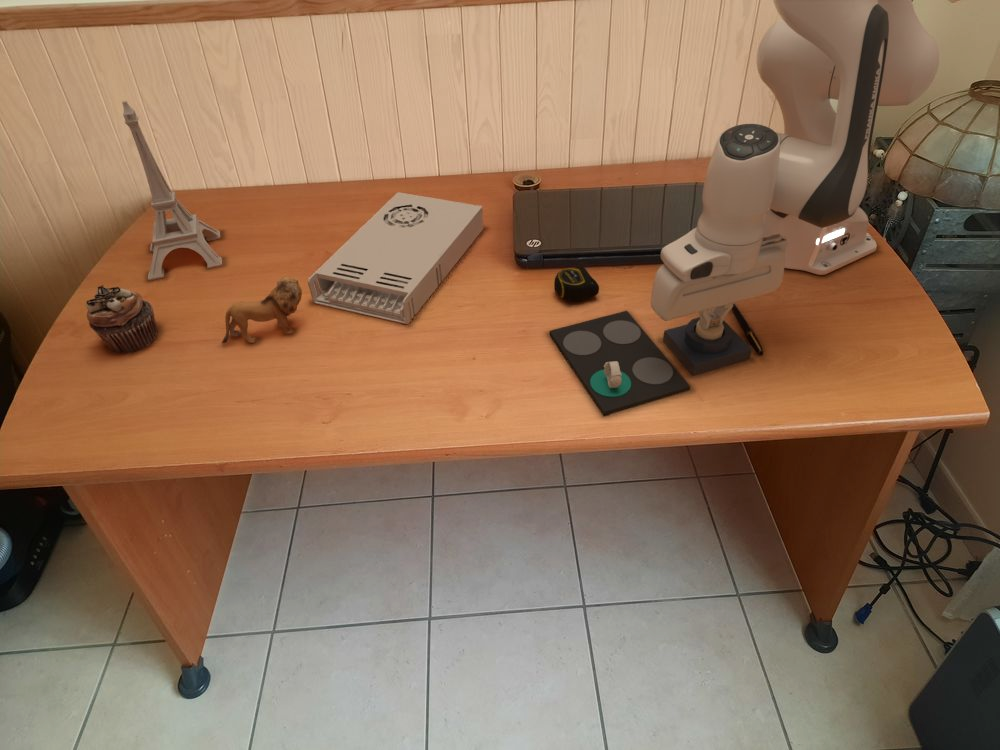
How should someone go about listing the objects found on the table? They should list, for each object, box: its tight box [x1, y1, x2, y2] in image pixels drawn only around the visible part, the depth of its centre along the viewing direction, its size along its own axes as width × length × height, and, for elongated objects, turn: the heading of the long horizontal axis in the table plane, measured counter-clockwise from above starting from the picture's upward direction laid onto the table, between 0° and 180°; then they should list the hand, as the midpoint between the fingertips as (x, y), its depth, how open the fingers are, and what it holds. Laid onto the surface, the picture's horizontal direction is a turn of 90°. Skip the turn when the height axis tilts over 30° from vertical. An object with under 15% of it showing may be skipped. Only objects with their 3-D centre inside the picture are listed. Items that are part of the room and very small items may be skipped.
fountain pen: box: [731, 303, 764, 356], centre depth 112 cm, size 14×1×2 cm, turn 6°
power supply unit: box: [307, 191, 485, 325], centre depth 129 cm, size 19×33×5 cm, turn 158°
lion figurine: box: [221, 276, 303, 344], centre depth 114 cm, size 15×5×9 cm, turn 117°
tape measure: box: [553, 264, 600, 302], centre depth 120 cm, size 7×7×4 cm
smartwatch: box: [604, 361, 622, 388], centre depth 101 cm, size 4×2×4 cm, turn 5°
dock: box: [662, 316, 753, 377], centre depth 108 cm, size 10×9×4 cm
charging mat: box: [549, 310, 691, 416], centre depth 108 cm, size 14×20×1 cm
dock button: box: [695, 320, 724, 340], centre depth 106 cm, size 4×4×2 cm
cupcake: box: [85, 284, 159, 354], centre depth 114 cm, size 10×10×10 cm
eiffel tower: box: [121, 100, 223, 282], centre depth 126 cm, size 13×13×30 cm
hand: (710, 325), depth 106 cm, fingers closed, pressing on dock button
